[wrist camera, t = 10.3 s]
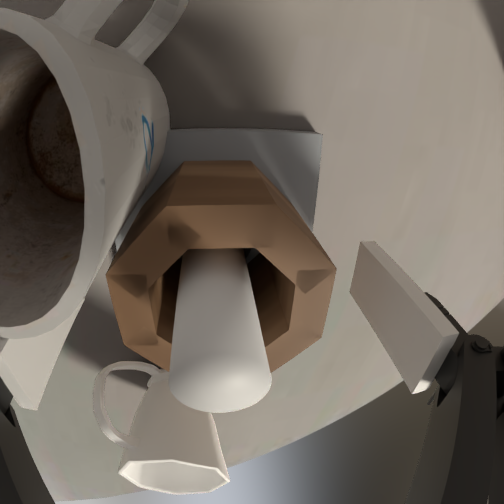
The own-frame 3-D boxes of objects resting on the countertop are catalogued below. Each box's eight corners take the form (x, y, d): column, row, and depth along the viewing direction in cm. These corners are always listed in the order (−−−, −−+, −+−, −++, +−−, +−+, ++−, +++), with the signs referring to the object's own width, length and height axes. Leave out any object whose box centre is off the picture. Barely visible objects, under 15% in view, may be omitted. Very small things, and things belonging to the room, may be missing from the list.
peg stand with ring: (133, 304, 18) (98, 455, 9) (110, 134, 13) (-23, 205, 4) (296, 300, 19) (351, 443, 10) (316, 132, 14) (454, 197, 6)
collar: (153, 295, 16) (135, 380, 11) (138, 163, 13) (93, 209, 8) (283, 291, 17) (312, 373, 12) (296, 161, 14) (347, 205, 9)
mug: (94, 239, 16) (16, 376, 7) (0, 139, 12) (-130, 203, 3) (267, 86, 13) (362, 74, 5) (158, -30, 10) (104, -147, 1)
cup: (175, 417, 24) (174, 499, 17) (83, 354, 19) (55, 448, 12) (240, 388, 23) (253, 481, 16) (145, 311, 18) (123, 424, 11)
